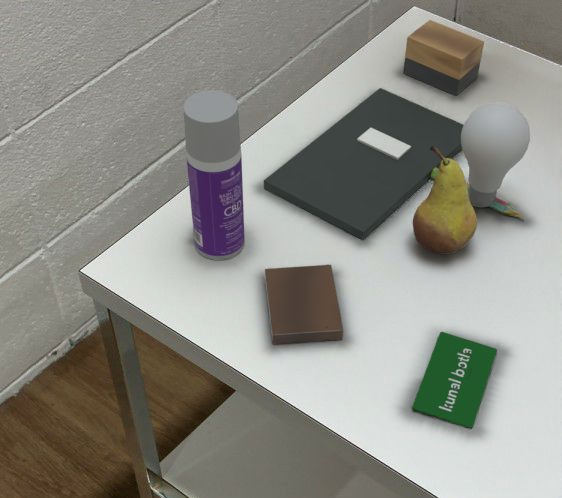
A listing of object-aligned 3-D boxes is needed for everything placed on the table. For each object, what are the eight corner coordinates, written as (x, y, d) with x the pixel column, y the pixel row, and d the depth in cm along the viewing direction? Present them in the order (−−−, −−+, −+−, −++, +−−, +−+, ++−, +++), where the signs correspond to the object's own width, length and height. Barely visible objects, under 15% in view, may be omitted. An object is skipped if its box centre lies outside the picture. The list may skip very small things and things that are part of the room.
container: (234, 265, 86) (227, 128, 75) (186, 253, 87) (172, 116, 76) (251, 232, 89) (247, 95, 77) (205, 221, 90) (194, 84, 78)
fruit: (466, 271, 86) (489, 165, 76) (404, 259, 87) (419, 153, 77) (475, 231, 89) (498, 124, 80) (415, 220, 90) (431, 113, 81)
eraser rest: (330, 273, 86) (331, 264, 85) (342, 339, 80) (343, 330, 80) (264, 278, 85) (264, 268, 84) (272, 344, 80) (272, 335, 79)
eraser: (424, 55, 108) (429, 19, 104) (477, 77, 105) (484, 41, 102) (402, 73, 106) (407, 36, 102) (456, 96, 103) (462, 59, 99)
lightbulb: (492, 178, 94) (515, 82, 85) (522, 217, 90) (550, 121, 82) (437, 192, 93) (454, 96, 84) (466, 232, 89) (487, 136, 80)
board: (379, 95, 103) (380, 87, 102) (474, 137, 98) (475, 129, 97) (263, 188, 93) (263, 180, 92) (362, 240, 88) (363, 232, 88)
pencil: (527, 219, 91) (376, 144, 98) (530, 210, 90) (376, 135, 97) (520, 226, 90) (368, 150, 97) (523, 217, 89) (369, 141, 96)
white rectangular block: (370, 129, 97) (370, 127, 97) (411, 148, 95) (411, 146, 95) (357, 140, 96) (357, 138, 96) (397, 160, 94) (397, 157, 94)
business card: (496, 351, 80) (439, 333, 81) (497, 349, 80) (440, 331, 80) (471, 429, 75) (411, 409, 76) (472, 427, 74) (411, 407, 75)
